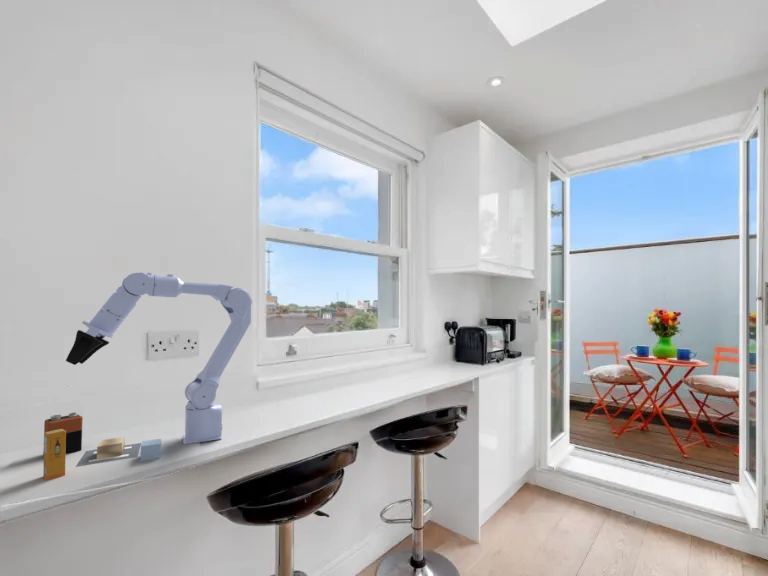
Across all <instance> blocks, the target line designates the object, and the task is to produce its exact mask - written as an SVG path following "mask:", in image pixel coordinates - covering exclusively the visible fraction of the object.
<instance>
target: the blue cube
mask: <svg viewBox="0 0 768 576" xmlns="http://www.w3.org/2000/svg"><path fill="white" fill-rule="evenodd" d="M161 455H162V438H156V439H149V440H143V441H142V442H141V446H140V462H145V461H151V460H157V459H160V458H161Z"/></svg>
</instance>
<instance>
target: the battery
mask: <svg viewBox="0 0 768 576" xmlns="http://www.w3.org/2000/svg"><path fill="white" fill-rule="evenodd" d="M58 429H63V430H65V431H66V455H69V454H73V453H77V452H81V451H82V447H83V446H82V445H83V444H82V443H83V416H81V414H78V413H77V412H69V413H68V414H67V415H63V416H62V415H61V414H54V415H50V418H47V419H45V420H44V429H43V434H44V433H45V432H49V431H54V430H58ZM42 453H43V456H44V449H43V452H42Z"/></svg>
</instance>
